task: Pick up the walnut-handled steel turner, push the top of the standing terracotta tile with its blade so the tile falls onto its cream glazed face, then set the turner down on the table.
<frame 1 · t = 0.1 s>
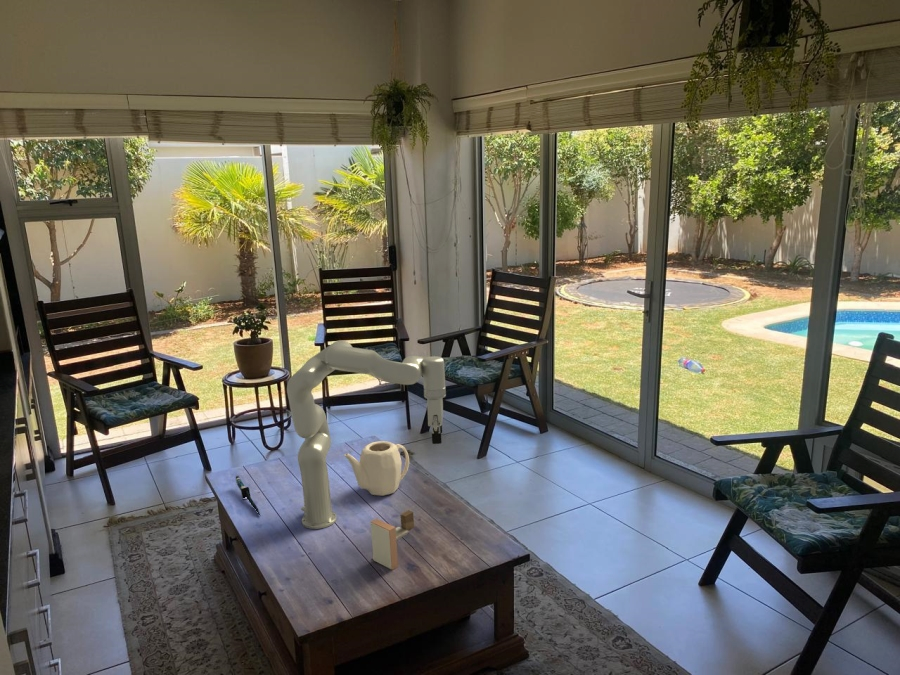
hand: (437, 438, 238), 31 cm above the table, tool pointing down, fingers open, 9 cm apart
cream teapot: (379, 491, 269), on the table
knife: (248, 502, 264), on the table
tile: (385, 563, 218), on the table
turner: (407, 528, 239), on the table
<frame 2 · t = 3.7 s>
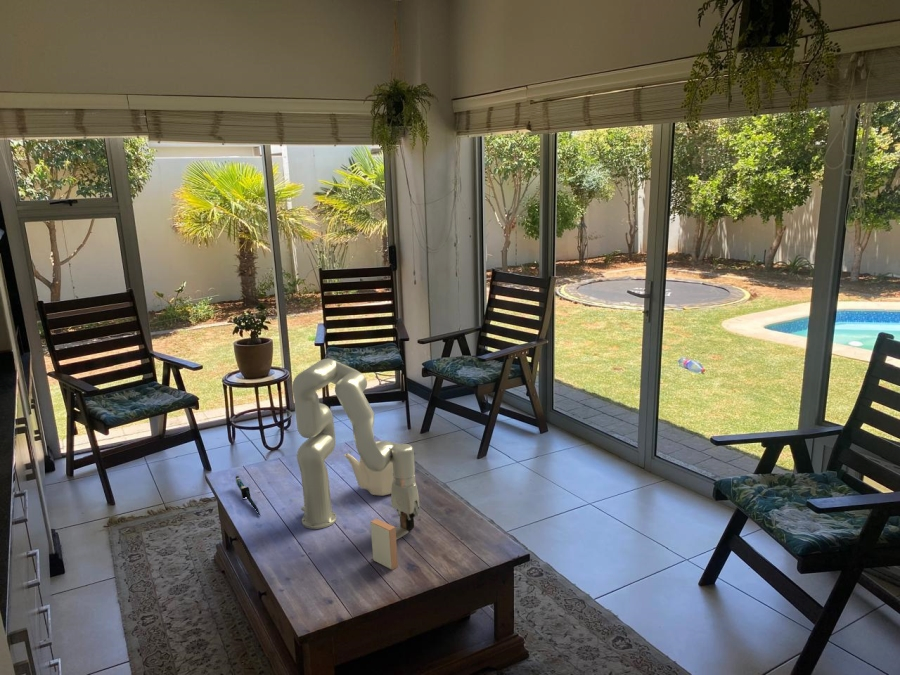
hand: (407, 526, 239), 1 cm above the table, tool pointing down, fingers closed on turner, 2 cm apart
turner: (407, 528, 239), on the table, touching gripper
everything else where it was.
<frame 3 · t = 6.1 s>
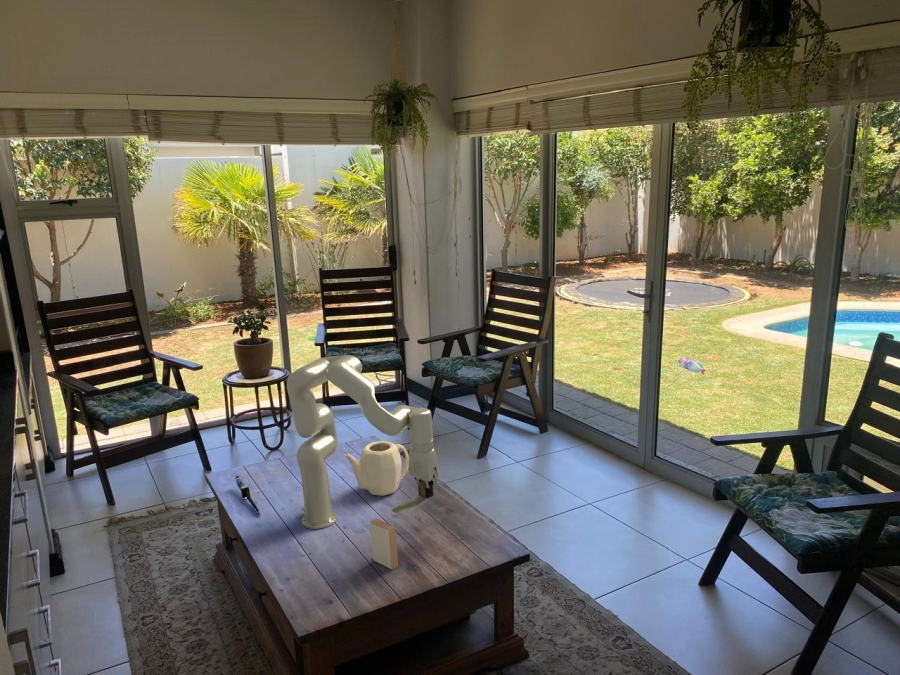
hand: (426, 495, 228), 16 cm above the table, tool pointing down, fingers closed on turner, 2 cm apart
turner: (427, 496, 229), point 15 cm above the table, touching gripper
everything else where it was.
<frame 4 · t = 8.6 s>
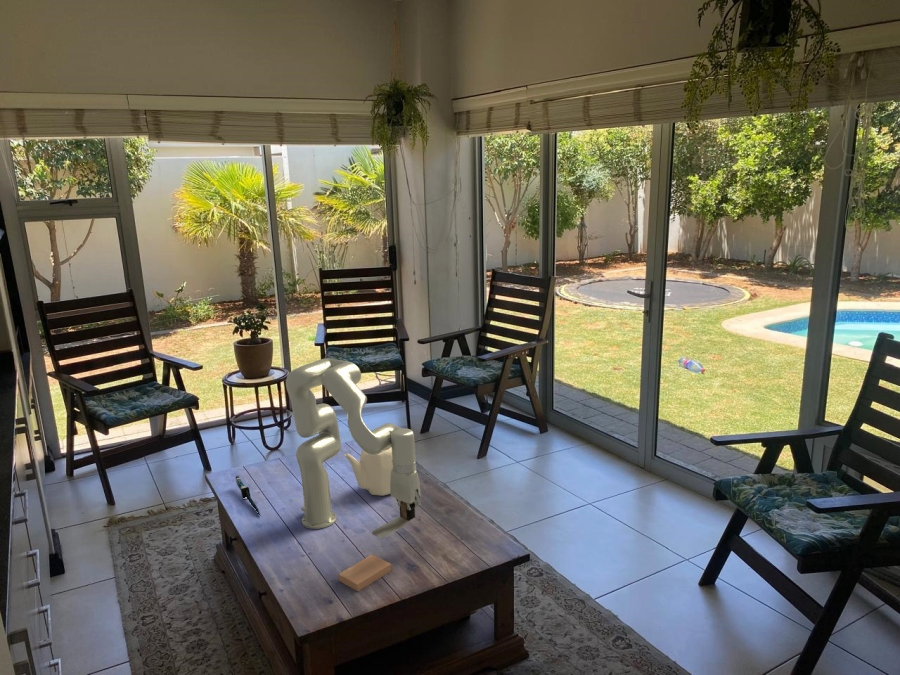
hand: (407, 517, 223), 12 cm above the table, tool pointing down, fingers closed on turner, 2 cm apart
tile: (381, 562, 217), point 1 cm above the table, tilted 90°
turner: (408, 518, 224), point 11 cm above the table, touching gripper
everything else where it was.
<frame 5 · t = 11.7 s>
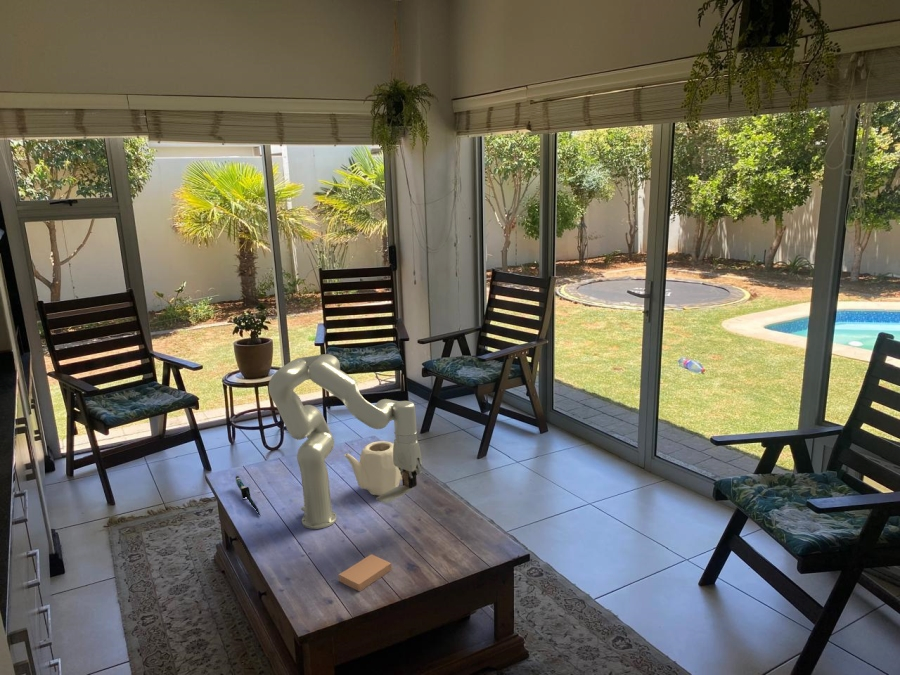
hand: (409, 485, 237), 16 cm above the table, tool pointing down, fingers closed on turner, 2 cm apart
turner: (410, 486, 237), point 15 cm above the table, touching gripper
everything else where it was.
when the fingers open (2 cm above the table, at t = 14.2 s): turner drops 2 cm, on the table.
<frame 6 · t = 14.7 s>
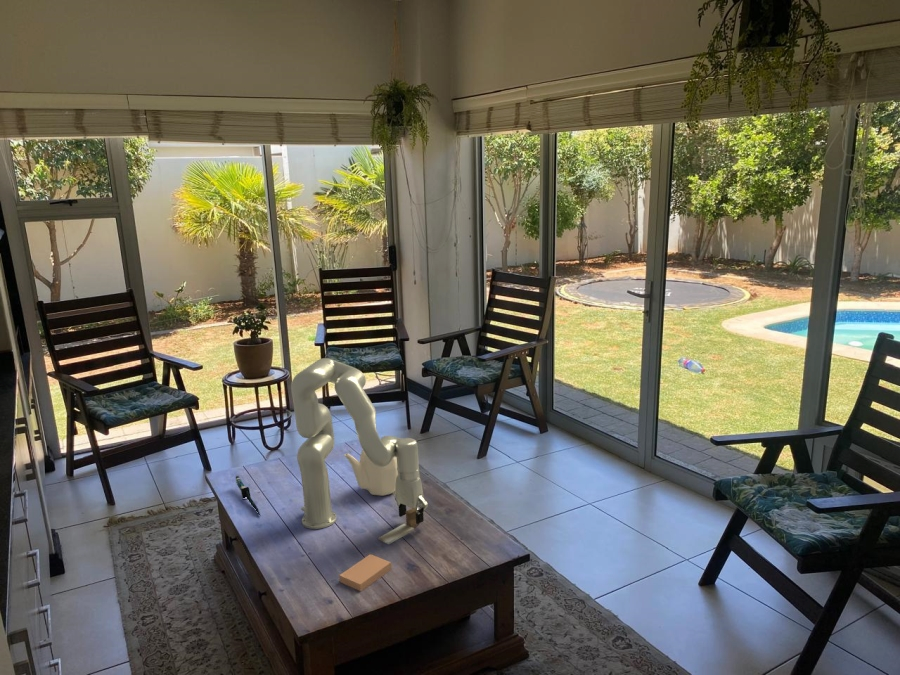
hand: (411, 518, 240), 3 cm above the table, tool pointing down, fingers open, 8 cm apart
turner: (413, 525, 241), on the table
everything else where it was.
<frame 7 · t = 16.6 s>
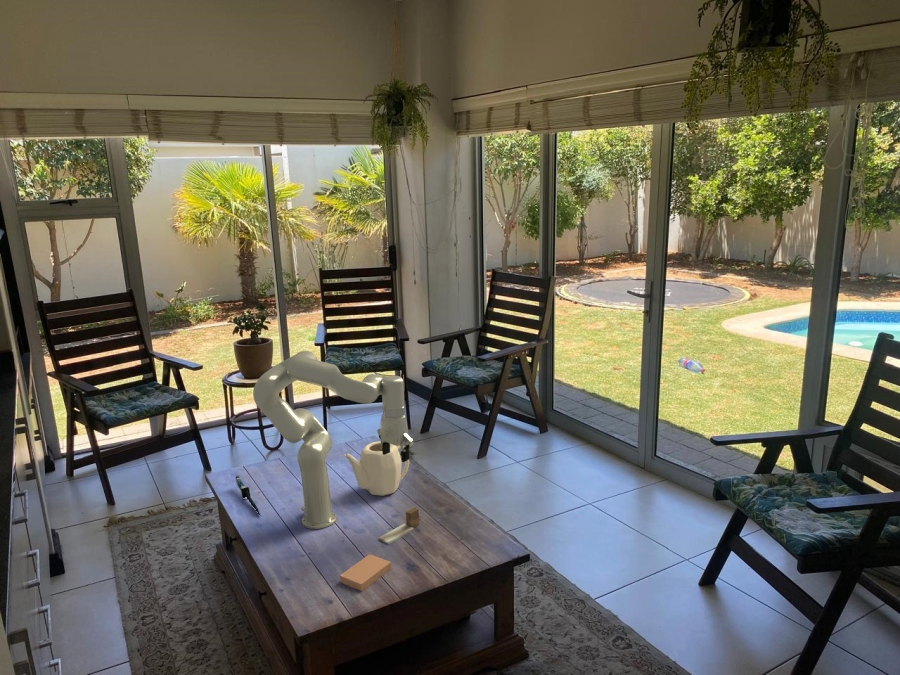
hand: (395, 457, 238), 25 cm above the table, tool pointing down, fingers open, 9 cm apart
nothing on the table moved.
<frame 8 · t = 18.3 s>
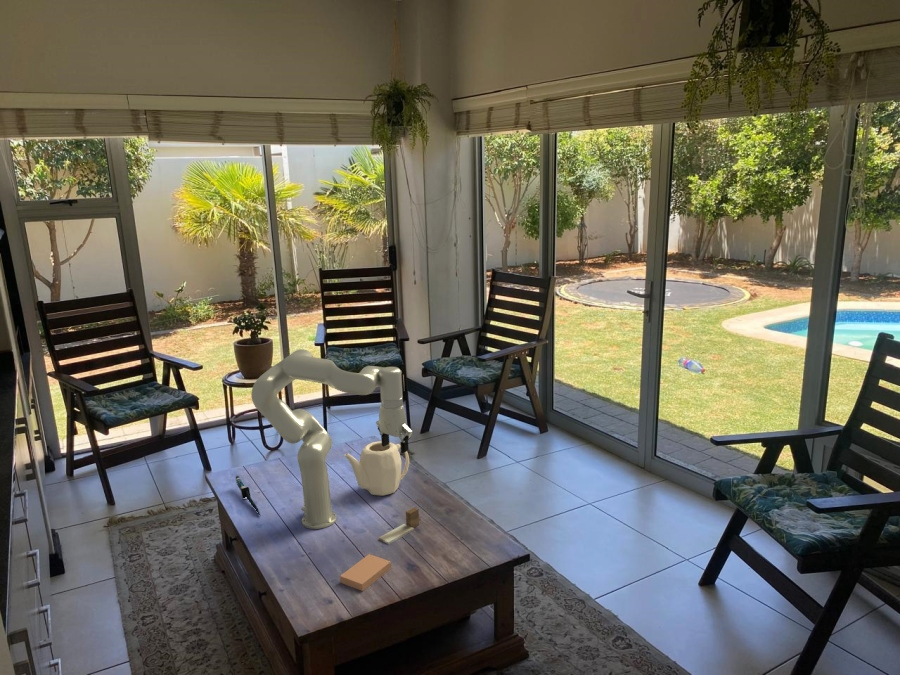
hand: (395, 448, 238), 28 cm above the table, tool pointing down, fingers open, 9 cm apart
nothing on the table moved.
at the end: tile tilted 90°; the gripper is holding nothing; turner touching table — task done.
